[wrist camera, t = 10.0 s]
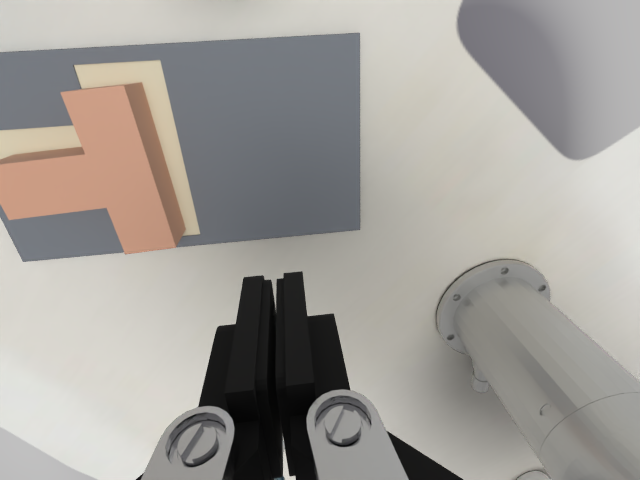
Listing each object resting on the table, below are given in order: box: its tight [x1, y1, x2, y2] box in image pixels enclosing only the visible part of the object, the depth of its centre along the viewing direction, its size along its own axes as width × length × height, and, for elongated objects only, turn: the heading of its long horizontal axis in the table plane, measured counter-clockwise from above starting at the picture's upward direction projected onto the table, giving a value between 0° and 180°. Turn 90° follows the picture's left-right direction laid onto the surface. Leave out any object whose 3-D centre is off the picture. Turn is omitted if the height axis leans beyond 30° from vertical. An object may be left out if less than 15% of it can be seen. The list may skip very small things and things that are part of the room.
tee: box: [0, 82, 186, 254], centre depth 27 cm, size 12×11×4 cm
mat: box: [0, 33, 360, 262], centre depth 29 cm, size 16×30×1 cm, turn 94°
